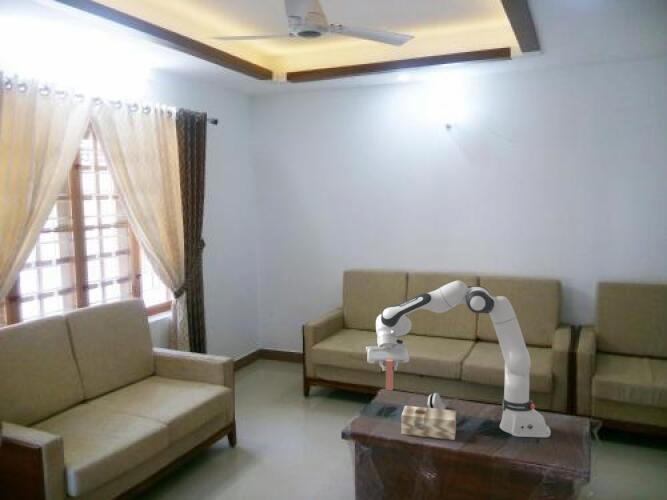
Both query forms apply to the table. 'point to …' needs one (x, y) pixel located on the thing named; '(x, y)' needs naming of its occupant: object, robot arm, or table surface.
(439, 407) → the hinge
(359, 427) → the table surface
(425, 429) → the beige wooden block
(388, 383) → the salmon pink square peg
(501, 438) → the table surface
